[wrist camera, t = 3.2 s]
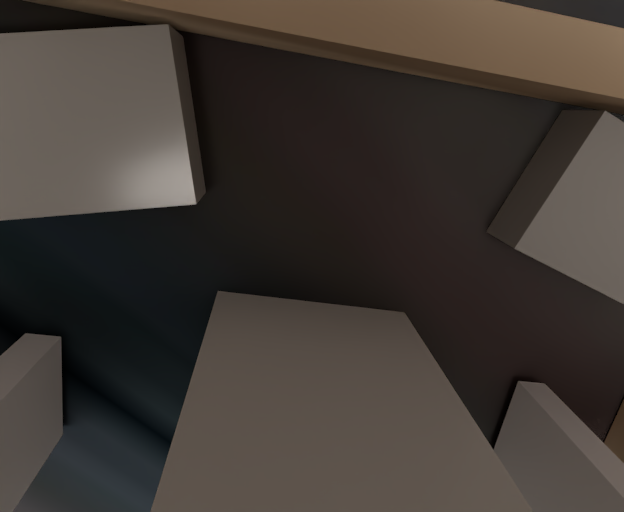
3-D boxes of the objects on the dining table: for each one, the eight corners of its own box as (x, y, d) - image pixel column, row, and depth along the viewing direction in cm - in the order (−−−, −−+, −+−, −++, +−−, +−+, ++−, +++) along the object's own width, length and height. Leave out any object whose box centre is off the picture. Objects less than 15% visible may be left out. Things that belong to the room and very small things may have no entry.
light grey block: (-24, 51, 8) (-90, 38, 7) (186, 39, 9) (168, 24, 7) (20, 204, 9) (-28, 222, 8) (208, 189, 10) (196, 204, 8)
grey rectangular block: (552, 109, 10) (604, 110, 8) (680, 187, 10) (748, 201, 9) (479, 228, 10) (514, 248, 9) (603, 291, 11) (654, 319, 10)
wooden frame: (-230, -117, 7) (-416, -200, 5) (802, 98, 10) (931, 96, 8) (-93, 632, 12) (-158, 725, 11) (541, 640, 15) (579, 716, 13)
